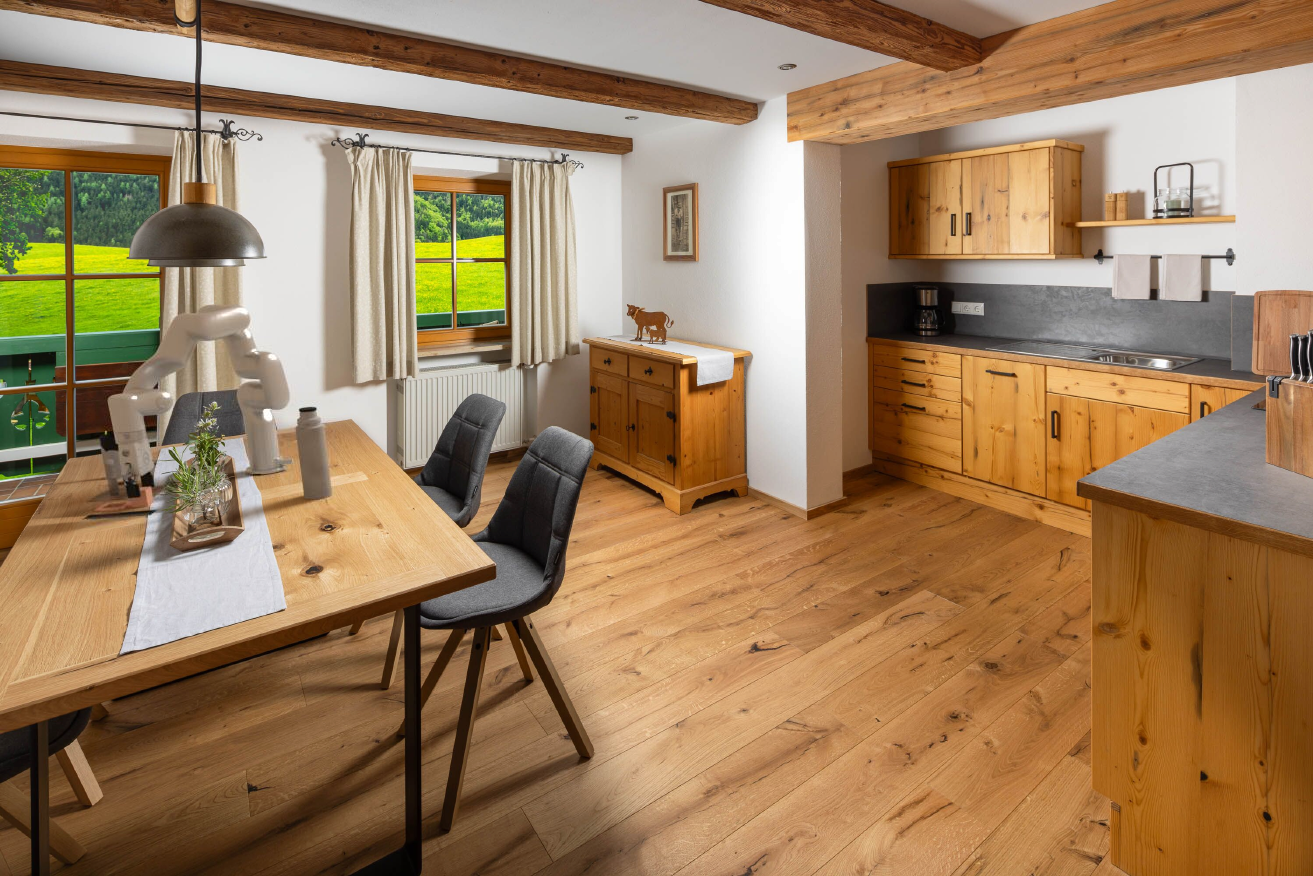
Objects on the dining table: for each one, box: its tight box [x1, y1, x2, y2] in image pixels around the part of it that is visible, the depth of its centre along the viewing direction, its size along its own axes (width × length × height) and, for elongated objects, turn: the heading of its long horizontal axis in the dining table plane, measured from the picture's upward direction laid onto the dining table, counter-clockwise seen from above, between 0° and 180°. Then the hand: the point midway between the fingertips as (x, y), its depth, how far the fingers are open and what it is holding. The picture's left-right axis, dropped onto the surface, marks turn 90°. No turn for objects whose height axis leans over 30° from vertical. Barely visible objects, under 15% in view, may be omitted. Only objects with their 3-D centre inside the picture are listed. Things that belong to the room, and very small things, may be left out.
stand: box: [86, 459, 166, 503], centre depth 228 cm, size 18×13×12 cm
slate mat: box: [82, 509, 157, 521], centre depth 217 cm, size 17×12×1 cm
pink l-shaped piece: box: [94, 486, 155, 515], centre depth 217 cm, size 13×7×6 cm, turn 103°
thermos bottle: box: [294, 406, 333, 500], centre depth 227 cm, size 8×8×28 cm
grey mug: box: [99, 432, 151, 481], centre depth 252 cm, size 9×14×15 cm, turn 114°
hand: (141, 492), depth 217 cm, fingers open, 9 cm apart
